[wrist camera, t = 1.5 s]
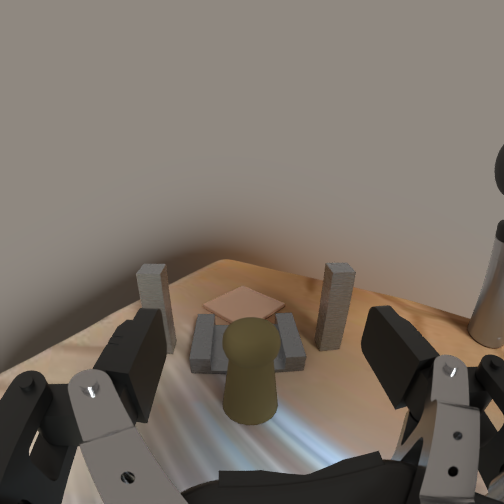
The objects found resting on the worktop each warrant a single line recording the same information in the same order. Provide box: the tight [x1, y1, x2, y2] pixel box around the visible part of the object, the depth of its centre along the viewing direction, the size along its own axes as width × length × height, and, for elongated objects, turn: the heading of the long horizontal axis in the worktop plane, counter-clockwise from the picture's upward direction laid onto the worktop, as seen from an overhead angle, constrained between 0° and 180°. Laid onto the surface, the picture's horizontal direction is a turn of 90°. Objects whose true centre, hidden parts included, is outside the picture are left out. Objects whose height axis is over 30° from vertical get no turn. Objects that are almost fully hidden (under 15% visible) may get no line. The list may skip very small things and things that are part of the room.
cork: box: [222, 317, 281, 425], centre depth 25 cm, size 6×6×11 cm
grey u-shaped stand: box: [136, 263, 356, 374], centre depth 34 cm, size 10×26×12 cm, turn 93°
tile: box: [203, 286, 285, 323], centre depth 46 cm, size 10×10×1 cm
